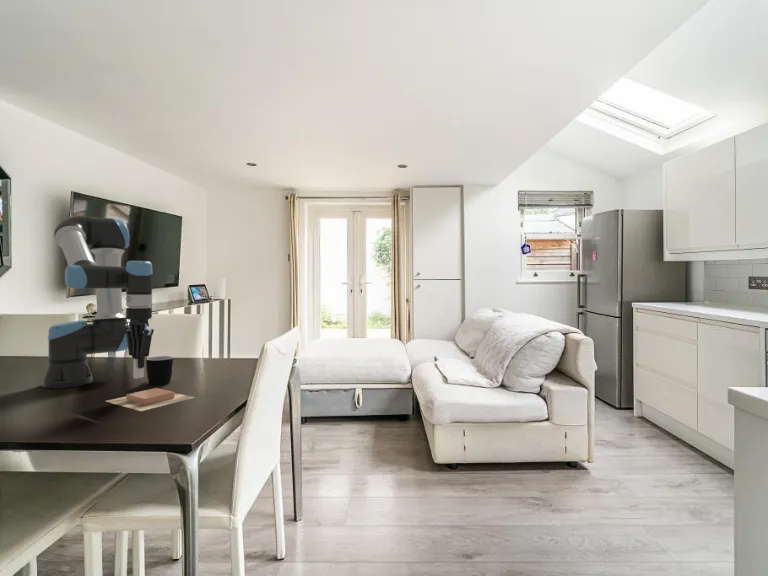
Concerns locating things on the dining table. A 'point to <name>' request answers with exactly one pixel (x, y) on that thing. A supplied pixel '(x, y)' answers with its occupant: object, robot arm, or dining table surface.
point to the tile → (150, 396)
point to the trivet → (142, 407)
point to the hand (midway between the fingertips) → (138, 377)
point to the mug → (159, 370)
